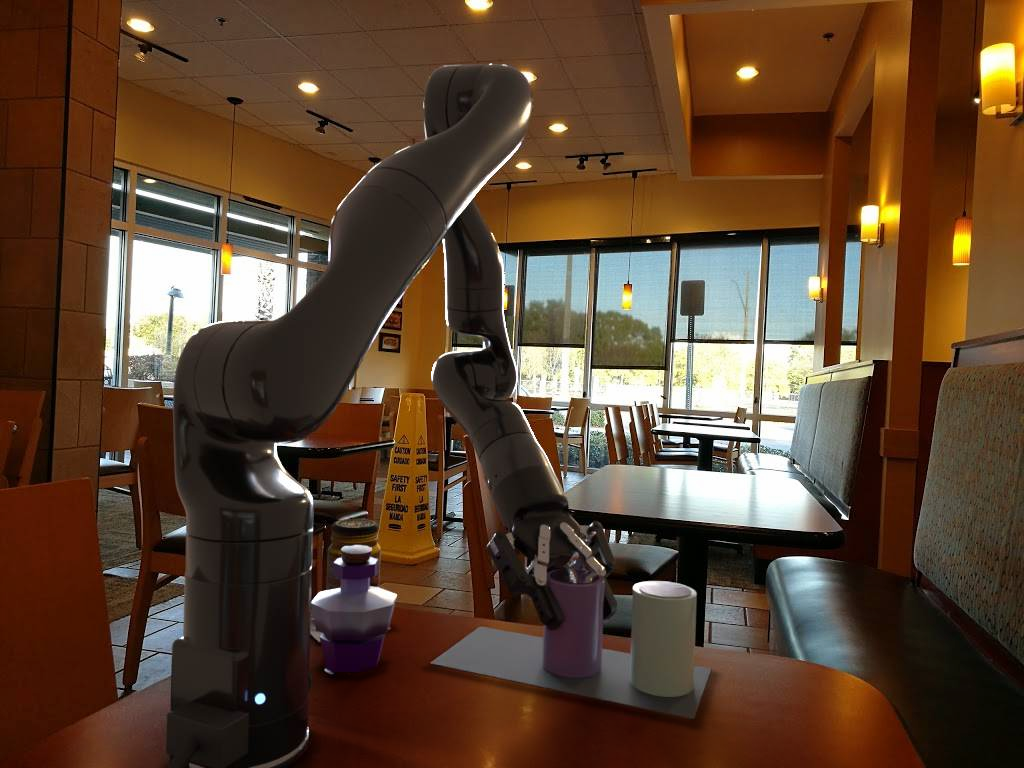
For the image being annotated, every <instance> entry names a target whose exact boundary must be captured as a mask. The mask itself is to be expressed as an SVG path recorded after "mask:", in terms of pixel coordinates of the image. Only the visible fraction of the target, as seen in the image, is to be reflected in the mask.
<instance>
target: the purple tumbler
mask: <svg viewBox="0 0 1024 768" xmlns="http://www.w3.org/2000/svg"><path fill="white" fill-rule="evenodd" d="M587 570H588V569H587ZM587 570H579V569H566V568H562V569H554V570H550V571H547V582H546V584H545V586H550V588H551V590H552V592H553V594H554V597H555V599H556V601H557V604H558V606H559V608H560V611H561V613H562V615H563V623H562V624H561V625H560V626H559V627H558V628H557V629H555V630H548V629H547V626H546V625H543V624H542V628H543V629H542V638H543V650H542V666H543V668H544V669H545V670H546V671H548V672H550V673H552V674H554V675H558V676H562V677H568V678H585V677H590V676H594V675H596V674H598V673H599V672H600V671H601V669H602V649H603V643H604V638H603V637H604V620H603V617H604V589H605V578H604V577H603V576H602V575H600V574H598V573H595V572H592V571H591V570H588V571H587Z"/></svg>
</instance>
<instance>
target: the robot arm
mask: <svg viewBox="0 0 1024 768" xmlns="http://www.w3.org/2000/svg"><path fill="white" fill-rule="evenodd" d="M533 109H534V95H533V91H532V88H531V85H530V82H529V80H528V78H527V77H526V76H525V74H524V73H523V72H522V71H520V70H519V69H518V68H516V67H513V66H511V65H507V64H499V63H481V64H480V63H477V64H475V63H472V64H449V65H448V64H447V65H442V66H439V67H437V68H436V69H434V70H433V72H432V73H431V74H430V75H429V77H428V79H427V81H426V84H425V88H424V94H423V125H424V133H425V139H422V140H420V141H418V142H416V143H414V144H412V145H409V146H407V147H405V148H403V149H401V150H398V151H396V152H395V153H393V154H391V155H389V156H387V157H386V158H384V159H383V160H381V161H380V162H379V163H377V164H376V165H374V166H373V167H372V168H371V169H370V170H369V171H368V172H367V173H366V174H365V175H364V176H363V177H362V178H361V180H360V181H359V182H358V183H357V184H356V185H355V186H354V187H353V188H352V189H351V190H350V192H349V193H348V194H347V195H346V196H345V198H344V199H343V200H342V201H341V203H340V204H339V205H338V207H337V209H336V210H335V213H334V215H333V218H332V219H331V224H330V228H329V229H330V230H329V237H328V261H327V264H326V265H327V266H326V268H325V270H324V272H323V273H322V274H321V276H320V277H319V279H318V280H317V281H316V282H315V283H314V284H313V285H312V287H311V288H310V289H309V290H308V292H307V293H306V294H304V296H302V298H301V299H300V300H299V301H298V302H297V303H296V304H294V306H293V307H292V308H290V309H289V310H288V311H286V313H285V314H283V315H281V316H279V317H278V318H275V319H273V320H228V321H226V320H225V321H218V322H214V323H210V324H207V325H205V326H203V327H201V328H200V329H198V330H197V331H195V332H194V333H193V334H192V335H191V337H189V339H188V340H187V342H186V343H185V344H184V346H183V348H182V349H181V352H180V355H179V357H178V361H177V364H176V367H175V374H174V380H173V391H172V392H173V394H172V418H173V419H172V420H173V421H172V422H173V423H172V424H173V453H174V454H173V455H174V456H173V457H174V480H175V487H176V492H177V494H178V497H179V500H180V501H181V504H182V506H183V509H184V512H185V555H184V556H185V558H184V559H185V561H184V589H183V590H184V591H183V593H184V594H183V629H182V630H183V631H182V632H183V633H182V637H179V638H176V639H174V641H173V642H172V644H171V666H170V667H171V670H170V671H171V672H170V673H171V674H170V707H169V708H170V710H169V712H168V713H166V741H165V742H166V743H165V746H166V747H165V751H166V752H165V753H166V754H167V755H168V765H167V766H166V768H288V767H291V766H292V765H293V764H295V763H296V762H297V761H298V760H300V759H301V757H303V755H304V754H305V753H306V751H307V749H308V747H309V739H310V738H309V737H310V736H309V735H310V729H309V723H308V722H309V697H310V696H309V695H310V694H309V693H310V692H309V691H311V692H312V691H313V675H312V674H311V673H310V655H311V654H310V652H311V634H310V623H311V618H312V608H311V601H312V588H313V587H312V585H313V584H312V582H313V579H312V578H313V559H314V558H313V555H314V553H313V552H314V551H313V550H314V520H315V519H314V518H315V516H314V515H315V514H314V513H315V512H314V511H315V504H314V503H315V502H314V497H313V495H312V493H311V492H310V490H309V489H308V488H307V487H306V486H304V485H303V483H301V482H299V481H297V480H296V479H295V478H294V477H293V476H292V475H291V474H290V473H289V472H288V471H287V470H286V469H285V467H284V465H282V462H281V461H280V458H279V456H278V451H277V444H282V445H283V444H293V443H298V442H301V441H303V440H306V439H309V438H310V437H311V436H312V435H314V434H315V433H317V432H318V431H319V430H320V429H321V428H322V427H323V426H324V425H325V424H326V423H327V421H328V420H329V419H330V418H331V417H332V415H333V413H334V412H335V411H336V409H337V407H338V405H339V404H340V403H341V401H342V399H343V397H344V396H345V394H346V392H347V390H348V389H349V387H350V385H351V383H352V381H353V380H354V377H355V376H356V374H357V372H358V370H359V368H360V366H361V364H362V362H363V361H364V359H365V358H366V355H367V353H368V352H369V349H370V348H371V346H372V344H373V342H374V340H375V339H376V337H377V335H378V334H379V332H380V330H381V328H382V327H383V325H384V324H385V323H386V321H387V319H388V318H389V317H390V315H391V313H392V312H393V310H394V309H395V308H396V306H397V304H398V303H399V302H400V300H401V299H402V297H403V295H404V294H405V293H406V291H407V290H408V288H409V287H410V285H411V283H412V282H413V281H414V280H415V278H416V277H417V276H418V274H419V273H420V271H421V270H422V269H423V268H424V267H425V265H426V264H427V263H428V262H429V260H430V259H431V258H432V256H433V255H434V253H435V252H436V250H437V249H438V248H439V246H440V245H441V243H442V244H443V245H442V246H443V253H444V278H445V280H444V282H445V284H444V285H445V289H444V290H445V292H444V293H445V320H446V325H447V327H448V328H449V329H450V330H451V331H453V332H454V333H457V334H460V335H465V336H474V337H479V338H481V339H482V348H475V349H468V350H466V349H465V350H458V351H450V352H447V353H444V354H442V355H440V356H439V357H438V358H437V359H436V361H435V362H434V364H433V367H432V371H431V384H432V388H433V390H434V394H435V396H436V397H437V400H438V401H439V403H440V404H441V405H442V407H443V408H444V410H445V411H446V412H447V413H448V414H449V416H451V417H452V419H453V420H454V421H455V422H456V423H457V424H458V425H459V427H460V428H461V429H462V431H463V432H464V433H465V435H467V437H468V438H469V440H470V442H471V445H472V446H473V449H474V452H475V454H476V457H477V459H478V461H479V463H480V467H481V470H482V474H483V475H482V476H483V478H484V481H485V484H486V487H487V489H488V491H489V494H490V496H491V499H492V501H493V503H494V506H495V508H496V510H497V514H498V516H499V518H500V520H501V523H502V525H503V527H504V529H505V531H506V532H507V533H505V532H504V531H502V530H497V531H496V532H495V533H494V535H493V537H492V538H491V539H490V541H489V542H488V544H487V545H486V550H487V552H488V555H489V557H490V558H491V560H492V562H493V563H494V565H495V567H496V570H497V571H498V573H499V575H500V577H501V578H502V581H503V582H504V585H505V586H506V588H507V590H508V592H509V593H510V594H512V595H519V593H520V594H525V595H526V596H527V597H529V598H530V599H531V601H532V603H533V606H534V609H535V611H536V614H537V616H538V618H539V621H540V622H541V624H542V626H543V625H546V626H547V629H548V630H555V629H557V628H558V627H559V626H560V625H561V624H562V623H563V615H562V613H561V611H560V608H559V606H558V604H557V601H556V599H555V597H554V594H553V592H552V590H551V588H550V586H545V584H546V582H547V573H548V569H549V568H550V567H552V566H553V567H564V569H579V570H587V571H591V572H595V573H598V574H600V575H602V576H603V577H604V578H605V589H604V617H603V621H607V620H610V619H611V618H612V617H613V616H614V615H615V614H616V613H617V611H618V600H617V599H616V597H615V594H614V593H613V591H612V589H611V587H610V584H609V582H608V580H607V578H608V577H609V575H610V574H611V573H612V572H613V571H614V570H615V569H616V568H617V562H616V560H615V557H614V553H613V551H612V549H611V546H610V543H609V541H608V539H607V535H606V532H605V530H604V527H603V525H602V524H601V522H599V521H597V520H594V521H593V522H592V523H591V524H589V525H586V524H585V525H581V524H579V523H578V522H577V521H576V520H575V519H574V518H573V517H572V515H571V513H570V507H569V505H570V504H569V500H568V498H567V496H566V493H565V492H564V489H563V488H562V487H563V486H562V485H561V483H560V480H559V479H558V477H557V475H556V473H555V471H554V469H553V467H552V465H551V463H550V461H549V458H548V456H547V455H546V453H545V451H544V449H543V448H542V447H541V445H540V444H539V442H538V441H537V439H536V437H535V435H534V432H533V431H532V429H531V427H530V424H529V422H528V420H527V418H526V416H525V414H524V412H523V410H522V409H521V407H520V406H519V405H518V404H516V403H515V402H512V401H510V400H508V399H510V398H511V396H512V395H513V394H514V392H515V390H516V388H517V383H518V371H517V365H516V361H515V359H514V355H513V352H512V349H511V344H510V340H509V336H508V332H507V328H506V321H505V314H504V310H505V309H504V302H505V301H504V300H505V295H504V294H505V292H504V291H505V285H504V284H505V274H504V273H505V272H504V262H503V258H502V254H501V251H500V249H499V246H498V243H497V241H496V239H495V237H494V235H493V233H492V231H491V229H490V227H489V225H488V224H487V221H486V220H485V218H484V216H483V214H482V212H481V210H480V208H479V207H478V204H477V202H476V199H475V196H476V194H477V193H478V192H479V191H480V190H481V188H482V187H483V186H484V185H485V184H486V183H487V181H488V180H489V179H490V178H491V177H492V176H493V175H494V174H495V173H496V172H497V171H498V170H499V169H500V168H501V167H502V166H503V165H504V164H505V163H506V162H507V161H508V160H509V159H510V158H511V157H512V156H513V155H514V153H516V151H517V150H518V149H519V147H520V146H521V144H522V143H523V141H524V139H525V137H526V135H527V133H528V131H529V128H530V125H531V121H532V117H533V111H534V110H533ZM516 551H518V552H519V554H521V555H522V556H524V564H523V563H522V561H521V559H520V557H519V556H518V553H517V552H516ZM576 554H577V555H578V558H577V559H576V560H575V559H574V557H575V556H576Z"/></svg>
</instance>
